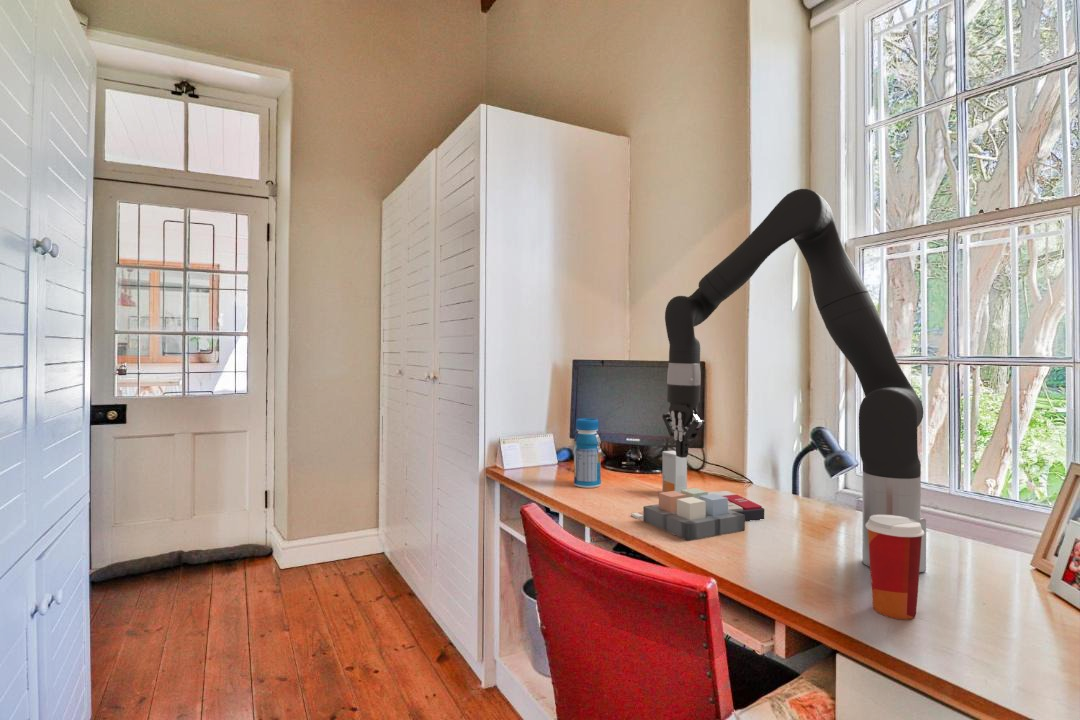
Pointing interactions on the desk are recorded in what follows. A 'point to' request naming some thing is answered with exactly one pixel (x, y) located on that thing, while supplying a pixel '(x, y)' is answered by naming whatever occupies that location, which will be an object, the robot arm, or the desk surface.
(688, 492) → the sage key
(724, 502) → the slate key
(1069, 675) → the desk surface
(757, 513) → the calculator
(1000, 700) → the desk surface
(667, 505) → the terracotta key
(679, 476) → the skincare box
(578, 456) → the beverage bottle
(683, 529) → the keypad base
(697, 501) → the cream key
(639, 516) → the strip
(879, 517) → the paper cup
